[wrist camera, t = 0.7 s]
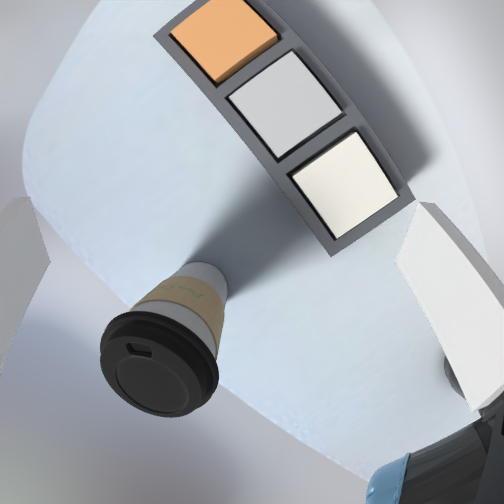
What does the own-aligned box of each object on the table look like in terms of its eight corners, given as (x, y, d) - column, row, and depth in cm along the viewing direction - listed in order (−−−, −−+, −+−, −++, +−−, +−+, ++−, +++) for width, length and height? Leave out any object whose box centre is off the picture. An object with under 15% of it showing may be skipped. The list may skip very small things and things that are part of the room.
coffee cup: (215, 230, 32) (157, 306, 18) (260, 306, 34) (238, 412, 20) (145, 268, 34) (69, 346, 21) (190, 334, 37) (143, 430, 23)
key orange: (277, 41, 22) (276, 34, 20) (220, 84, 24) (214, 80, 22) (233, -4, 20) (228, -13, 19) (178, 37, 22) (170, 31, 20)
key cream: (390, 192, 25) (397, 196, 23) (334, 231, 27) (336, 238, 25) (351, 132, 24) (356, 132, 22) (292, 173, 26) (292, 176, 24)
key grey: (338, 114, 23) (341, 112, 22) (279, 156, 25) (278, 157, 23) (291, 57, 22) (291, 51, 20) (233, 99, 24) (228, 97, 22)
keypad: (399, 189, 28) (415, 199, 24) (326, 240, 31) (330, 257, 27) (242, -7, 23) (233, -27, 19) (171, 47, 26) (152, 36, 21)
